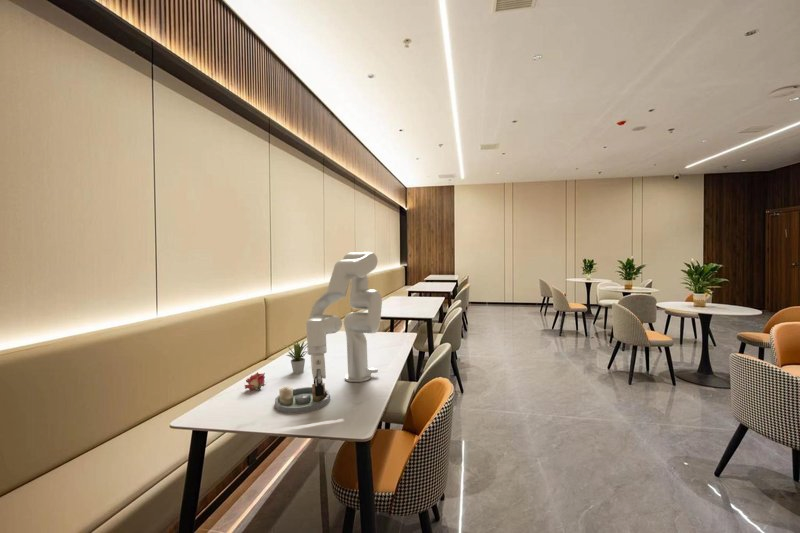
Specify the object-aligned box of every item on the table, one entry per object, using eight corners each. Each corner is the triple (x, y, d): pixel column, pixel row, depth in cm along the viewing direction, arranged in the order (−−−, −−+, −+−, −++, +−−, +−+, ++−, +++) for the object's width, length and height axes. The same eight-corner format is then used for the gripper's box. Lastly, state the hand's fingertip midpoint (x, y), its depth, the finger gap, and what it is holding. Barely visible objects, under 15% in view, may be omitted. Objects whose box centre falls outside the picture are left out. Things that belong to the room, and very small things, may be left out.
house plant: (320, 369, 186) (319, 338, 185) (300, 378, 174) (298, 344, 174) (301, 366, 193) (300, 336, 193) (280, 373, 182) (279, 341, 181)
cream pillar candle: (293, 400, 144) (292, 385, 144) (293, 405, 139) (292, 390, 139) (280, 402, 142) (279, 387, 142) (279, 407, 138) (279, 392, 137)
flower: (274, 384, 161) (267, 368, 164) (260, 387, 153) (253, 370, 155) (258, 395, 163) (252, 379, 166) (243, 399, 155) (237, 382, 157)
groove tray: (327, 391, 156) (327, 384, 156) (332, 410, 135) (332, 402, 135) (276, 398, 150) (276, 391, 150) (273, 419, 130) (273, 411, 129)
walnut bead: (324, 396, 147) (324, 381, 147) (325, 400, 143) (325, 385, 142) (312, 397, 146) (311, 383, 146) (313, 402, 141) (312, 387, 141)
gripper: (328, 353, 137) (330, 397, 137) (324, 343, 153) (326, 382, 154) (308, 355, 134) (310, 400, 135) (306, 345, 151) (308, 385, 151)
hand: (318, 391), depth 144 cm, fingers open, 9 cm apart
